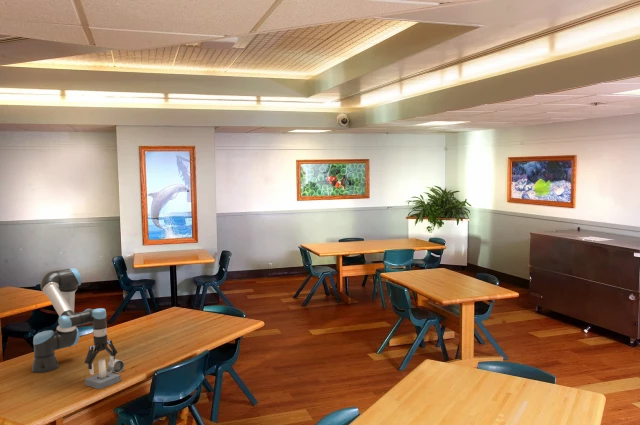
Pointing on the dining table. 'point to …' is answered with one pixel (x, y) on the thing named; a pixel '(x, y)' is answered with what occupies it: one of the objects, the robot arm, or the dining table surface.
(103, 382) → the bore block
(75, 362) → the dining table surface
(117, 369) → the ceramic mug
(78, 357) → the dining table surface
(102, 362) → the dowel pin
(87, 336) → the dining table surface
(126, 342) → the dining table surface
